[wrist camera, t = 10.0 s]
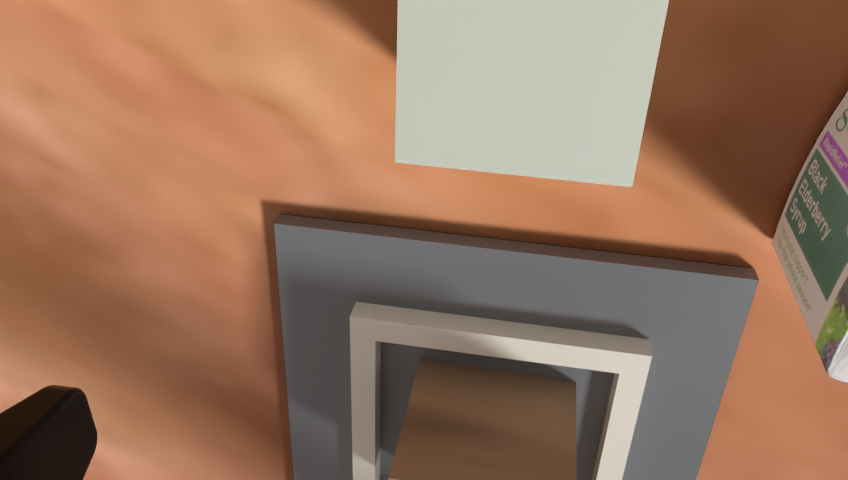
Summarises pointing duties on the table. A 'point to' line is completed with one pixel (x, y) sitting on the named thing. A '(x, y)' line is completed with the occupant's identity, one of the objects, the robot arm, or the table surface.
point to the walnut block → (486, 426)
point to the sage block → (526, 85)
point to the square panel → (501, 340)
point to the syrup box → (821, 243)
